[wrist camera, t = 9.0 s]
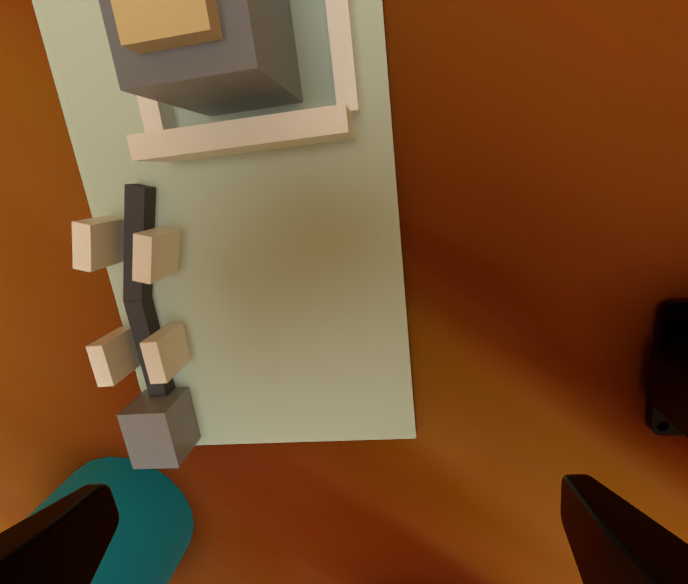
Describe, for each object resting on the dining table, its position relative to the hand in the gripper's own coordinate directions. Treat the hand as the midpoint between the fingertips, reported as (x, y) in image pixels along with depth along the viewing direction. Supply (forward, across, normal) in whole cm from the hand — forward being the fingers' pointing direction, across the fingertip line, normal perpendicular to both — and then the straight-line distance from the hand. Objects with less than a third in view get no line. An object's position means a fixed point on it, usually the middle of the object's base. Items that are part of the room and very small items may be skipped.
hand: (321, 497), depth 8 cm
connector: (+11, +3, -11) cm, 16 cm away
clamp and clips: (+11, +10, +1) cm, 15 cm away
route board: (+12, +5, -4) cm, 14 cm away
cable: (+11, +10, -2) cm, 15 cm away
